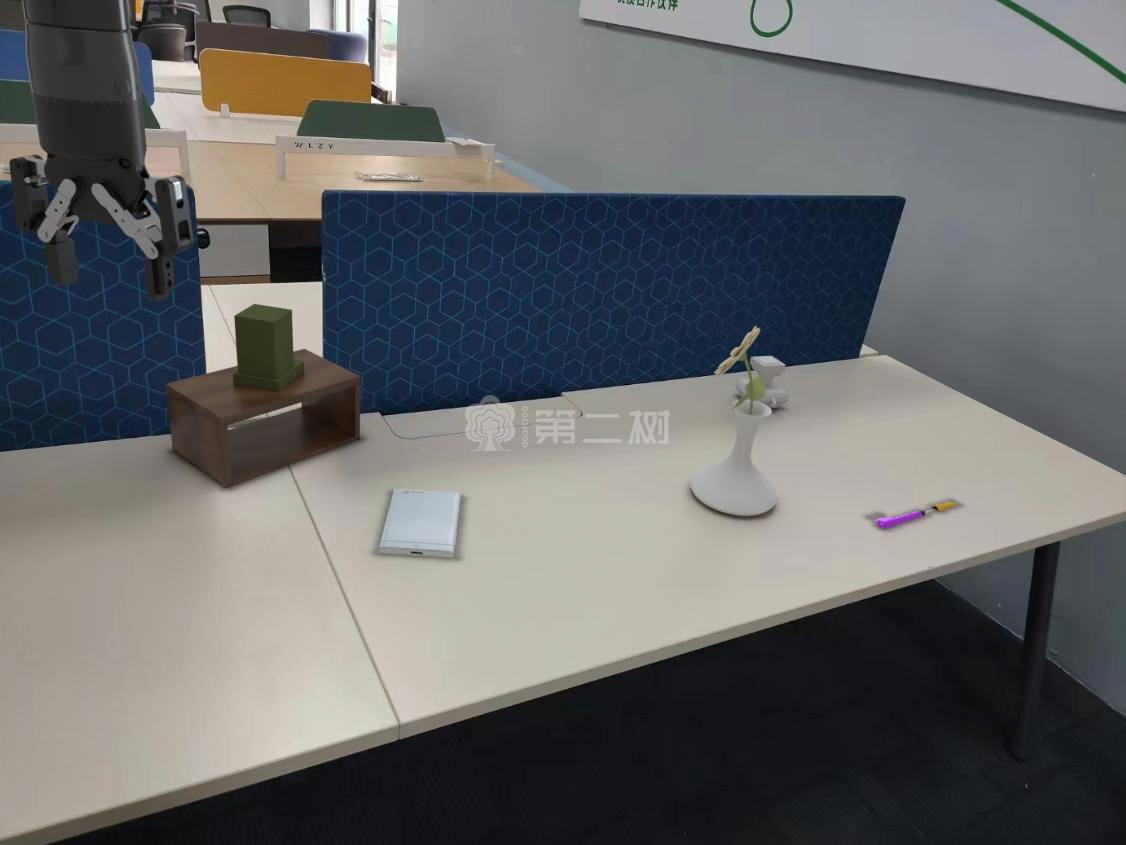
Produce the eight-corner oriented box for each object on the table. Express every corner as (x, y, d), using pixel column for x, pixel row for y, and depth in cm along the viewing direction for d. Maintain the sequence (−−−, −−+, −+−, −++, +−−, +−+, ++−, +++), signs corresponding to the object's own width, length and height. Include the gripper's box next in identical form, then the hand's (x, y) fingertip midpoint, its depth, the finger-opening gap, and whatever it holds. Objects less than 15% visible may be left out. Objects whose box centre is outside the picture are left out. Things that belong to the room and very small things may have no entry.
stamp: (789, 416, 139) (801, 369, 136) (755, 418, 137) (766, 371, 133) (761, 394, 147) (771, 349, 143) (728, 395, 144) (737, 349, 141)
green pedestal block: (279, 392, 104) (276, 323, 100) (233, 384, 104) (228, 315, 100) (304, 371, 110) (302, 305, 106) (260, 364, 111) (257, 298, 107)
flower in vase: (720, 471, 119) (757, 302, 108) (790, 506, 112) (836, 330, 101) (662, 498, 111) (696, 318, 100) (733, 538, 104) (778, 350, 93)
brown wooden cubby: (172, 455, 107) (165, 383, 102) (306, 413, 121) (304, 348, 117) (226, 493, 100) (220, 418, 96) (360, 443, 115) (360, 376, 111)
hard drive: (393, 487, 103) (378, 545, 91) (461, 492, 103) (454, 549, 92) (393, 499, 103) (378, 558, 92) (460, 503, 104) (453, 562, 93)
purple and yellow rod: (883, 532, 108) (957, 508, 117) (883, 523, 108) (958, 500, 116) (865, 525, 111) (940, 503, 119) (866, 517, 110) (941, 495, 119)
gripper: (200, 98, 68) (214, 291, 75) (37, 76, 69) (66, 267, 76) (144, 106, 61) (165, 317, 68) (-35, 80, 63) (4, 290, 70)
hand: (113, 290), depth 72 cm, fingers open, 8 cm apart
